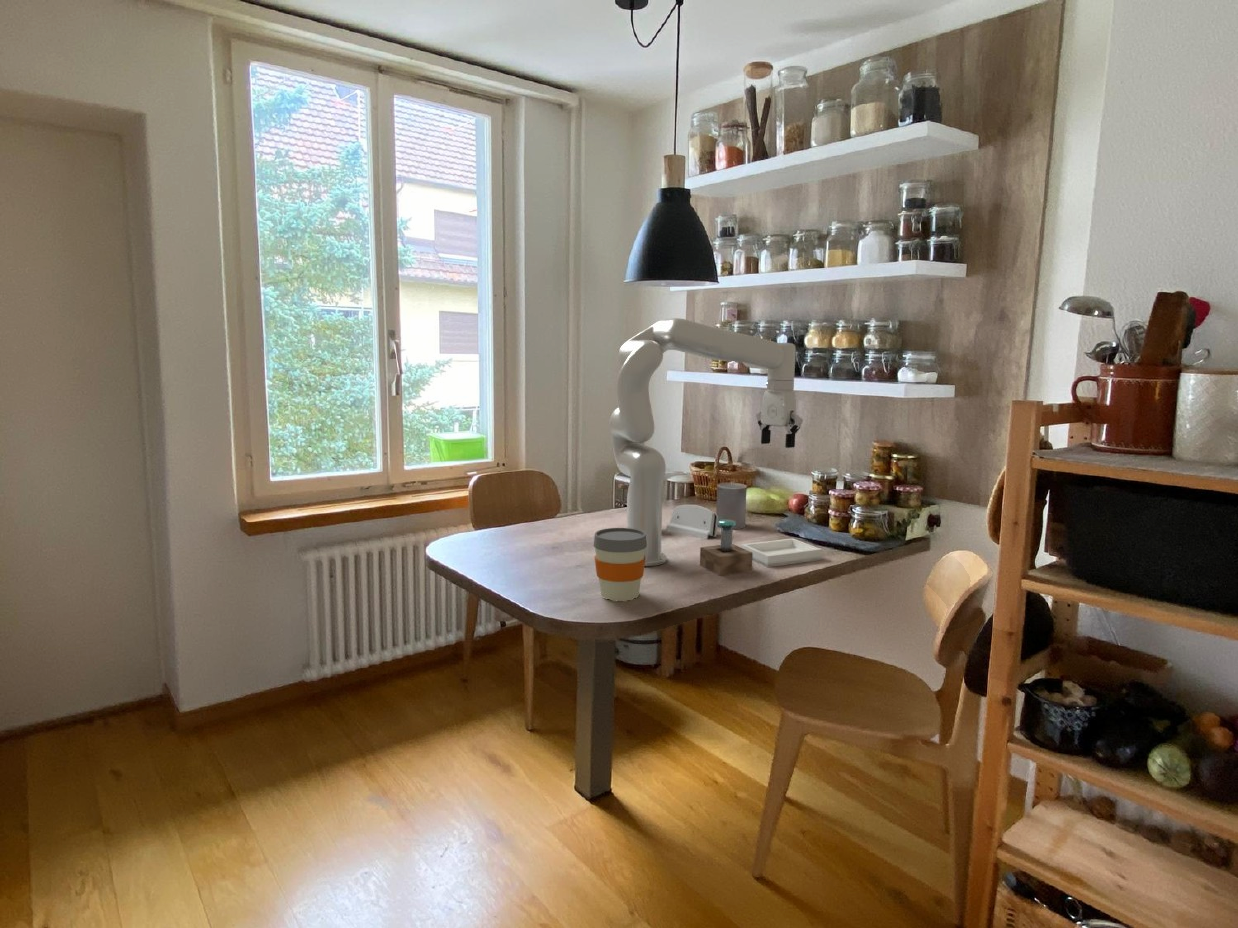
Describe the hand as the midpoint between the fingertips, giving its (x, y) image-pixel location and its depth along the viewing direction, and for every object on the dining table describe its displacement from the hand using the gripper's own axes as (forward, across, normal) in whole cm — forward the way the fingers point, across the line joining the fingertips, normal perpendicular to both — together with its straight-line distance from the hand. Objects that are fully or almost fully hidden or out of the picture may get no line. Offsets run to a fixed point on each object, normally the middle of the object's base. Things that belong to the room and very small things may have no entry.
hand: (777, 445), depth 217 cm
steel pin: (+30, +9, -27) cm, 41 cm away
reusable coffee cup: (+31, +12, -63) cm, 71 cm away
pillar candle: (+31, -26, +7) cm, 41 cm away
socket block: (+30, +9, -27) cm, 41 cm away
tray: (+30, +9, -6) cm, 32 cm away
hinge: (+31, -26, -10) cm, 41 cm away
